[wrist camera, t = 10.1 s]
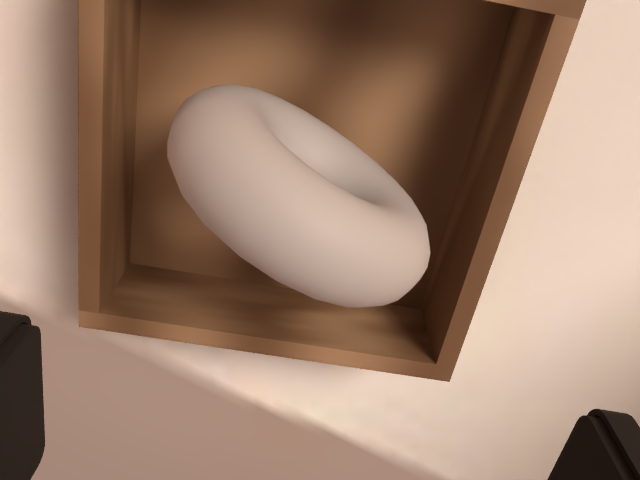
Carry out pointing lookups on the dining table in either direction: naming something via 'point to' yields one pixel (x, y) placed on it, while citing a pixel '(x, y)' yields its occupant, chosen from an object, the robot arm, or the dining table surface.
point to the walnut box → (340, 114)
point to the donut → (296, 197)
